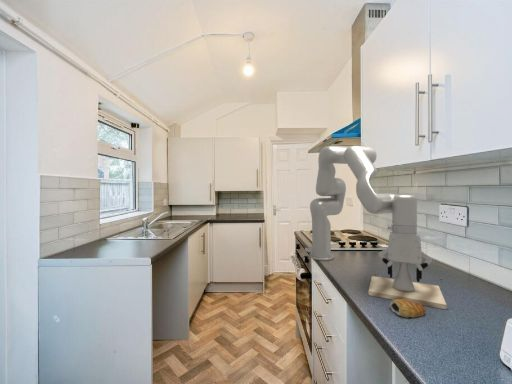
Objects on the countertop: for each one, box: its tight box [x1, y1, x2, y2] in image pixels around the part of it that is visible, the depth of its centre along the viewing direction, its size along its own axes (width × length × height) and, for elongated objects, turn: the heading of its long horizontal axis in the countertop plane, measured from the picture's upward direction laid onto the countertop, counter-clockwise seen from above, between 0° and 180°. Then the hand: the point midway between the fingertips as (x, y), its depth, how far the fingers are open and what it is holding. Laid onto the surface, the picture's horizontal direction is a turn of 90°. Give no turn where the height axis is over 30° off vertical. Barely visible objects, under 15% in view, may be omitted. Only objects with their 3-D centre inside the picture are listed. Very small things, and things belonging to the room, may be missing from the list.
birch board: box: [368, 275, 448, 311], centre depth 89 cm, size 22×16×2 cm
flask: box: [393, 262, 415, 292], centre depth 89 cm, size 7×7×10 cm
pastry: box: [389, 299, 426, 319], centre depth 76 cm, size 9×7×4 cm
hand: (404, 278), depth 89 cm, fingers open, 7 cm apart
